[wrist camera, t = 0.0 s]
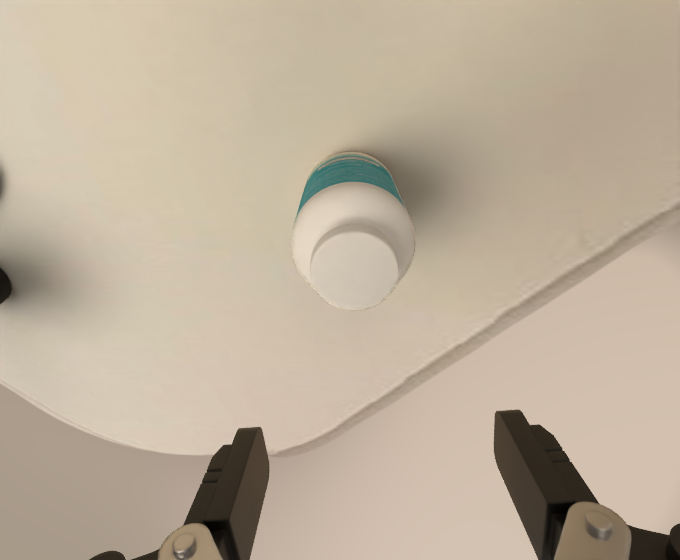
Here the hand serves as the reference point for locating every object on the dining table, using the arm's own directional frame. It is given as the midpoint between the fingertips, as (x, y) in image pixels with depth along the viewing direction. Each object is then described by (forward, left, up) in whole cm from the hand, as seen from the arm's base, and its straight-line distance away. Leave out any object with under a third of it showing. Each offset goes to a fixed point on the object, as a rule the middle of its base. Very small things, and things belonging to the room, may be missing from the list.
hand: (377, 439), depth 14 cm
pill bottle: (-1, -1, -23) cm, 23 cm away
